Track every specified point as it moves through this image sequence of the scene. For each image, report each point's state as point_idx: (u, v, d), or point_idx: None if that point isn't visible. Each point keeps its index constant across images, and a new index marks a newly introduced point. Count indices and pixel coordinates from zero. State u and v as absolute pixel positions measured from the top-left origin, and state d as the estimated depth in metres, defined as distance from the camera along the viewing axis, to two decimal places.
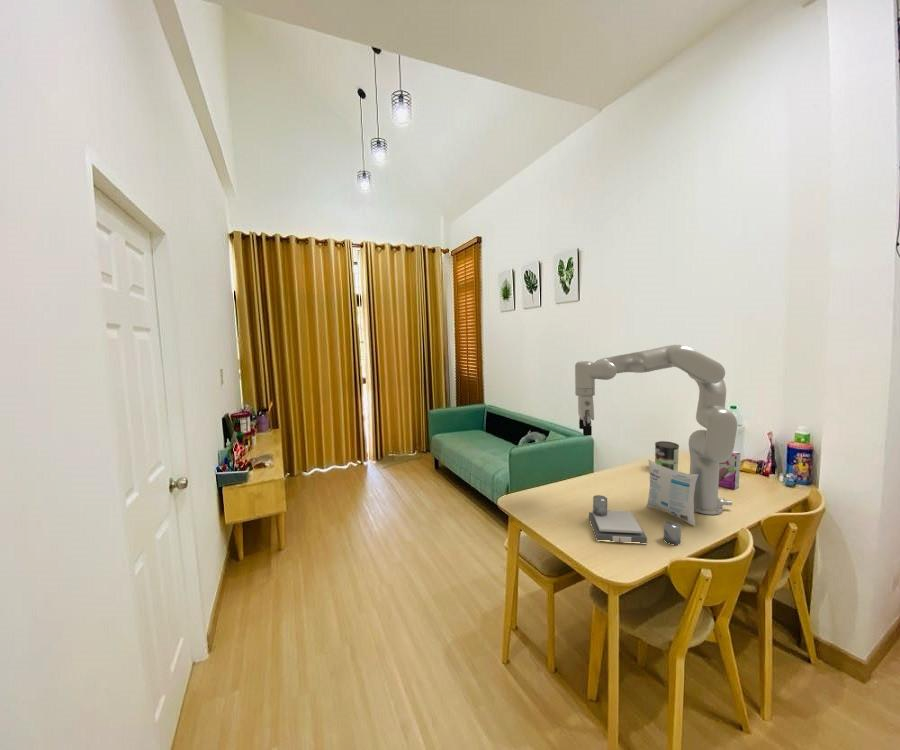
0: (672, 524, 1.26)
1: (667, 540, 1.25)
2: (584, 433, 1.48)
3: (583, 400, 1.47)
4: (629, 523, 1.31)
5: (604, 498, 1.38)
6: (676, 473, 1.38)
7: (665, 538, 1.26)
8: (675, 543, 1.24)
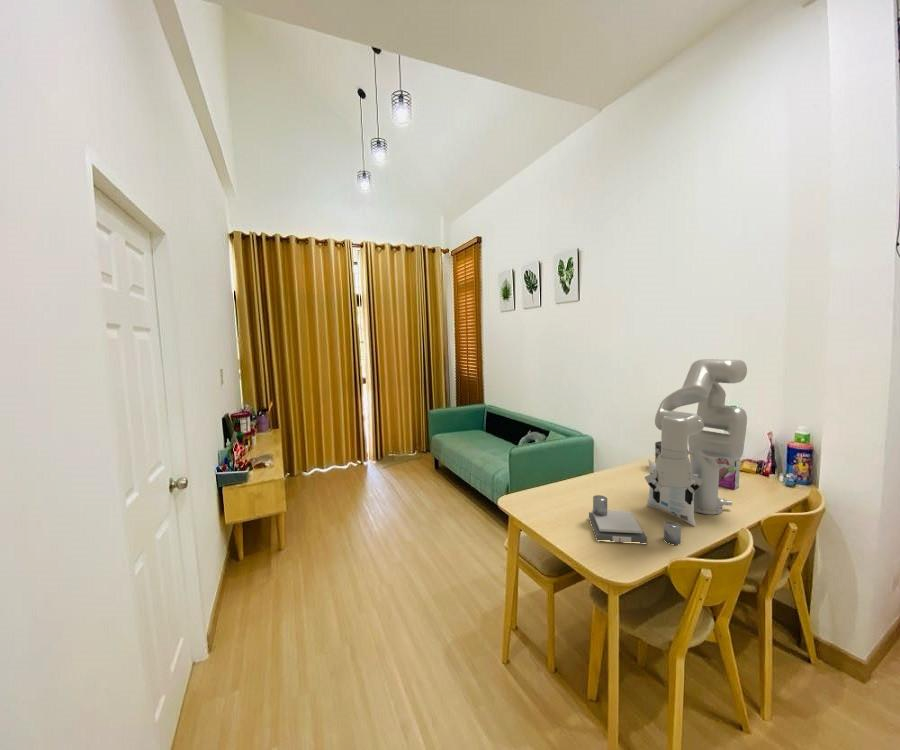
0: (672, 524, 1.26)
1: (667, 540, 1.25)
2: None
3: (690, 463, 1.21)
4: (629, 523, 1.31)
5: (604, 498, 1.38)
6: None
7: (665, 538, 1.26)
8: (675, 543, 1.24)
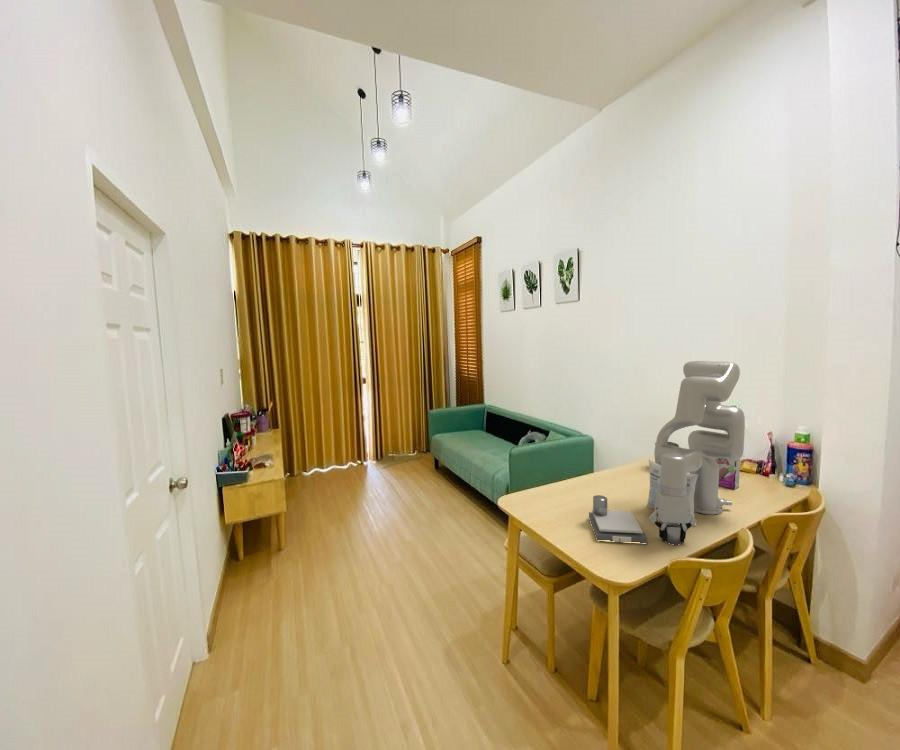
0: (672, 524, 1.26)
1: (667, 540, 1.25)
2: None
3: None
4: (629, 523, 1.31)
5: (604, 498, 1.38)
6: None
7: None
8: (675, 543, 1.24)
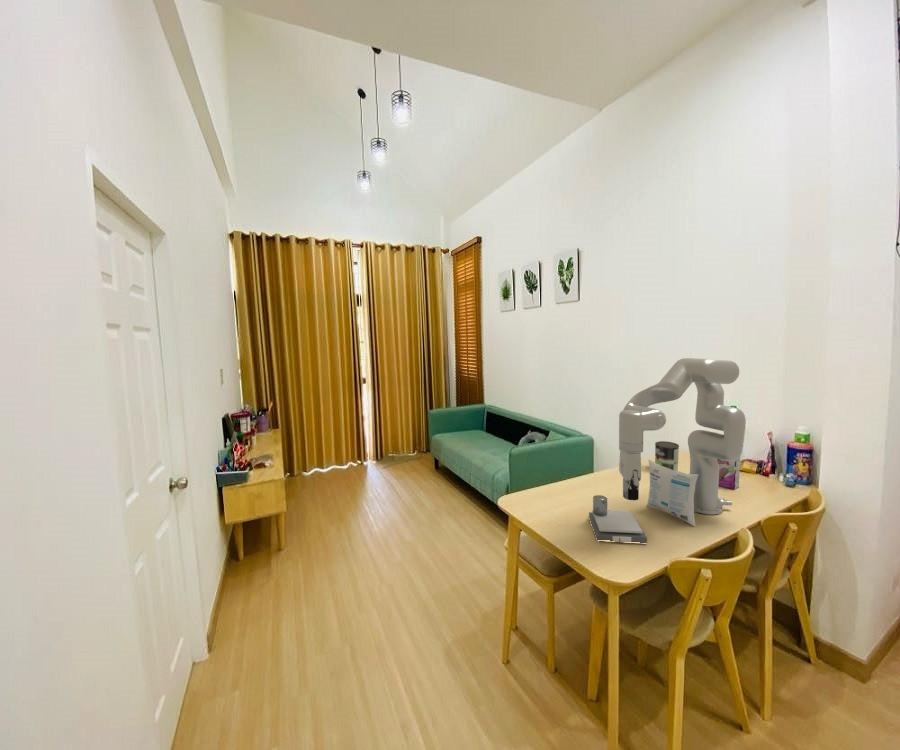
0: None
1: None
2: None
3: None
4: (629, 523, 1.31)
5: (604, 498, 1.38)
6: (676, 473, 1.38)
7: None
8: None
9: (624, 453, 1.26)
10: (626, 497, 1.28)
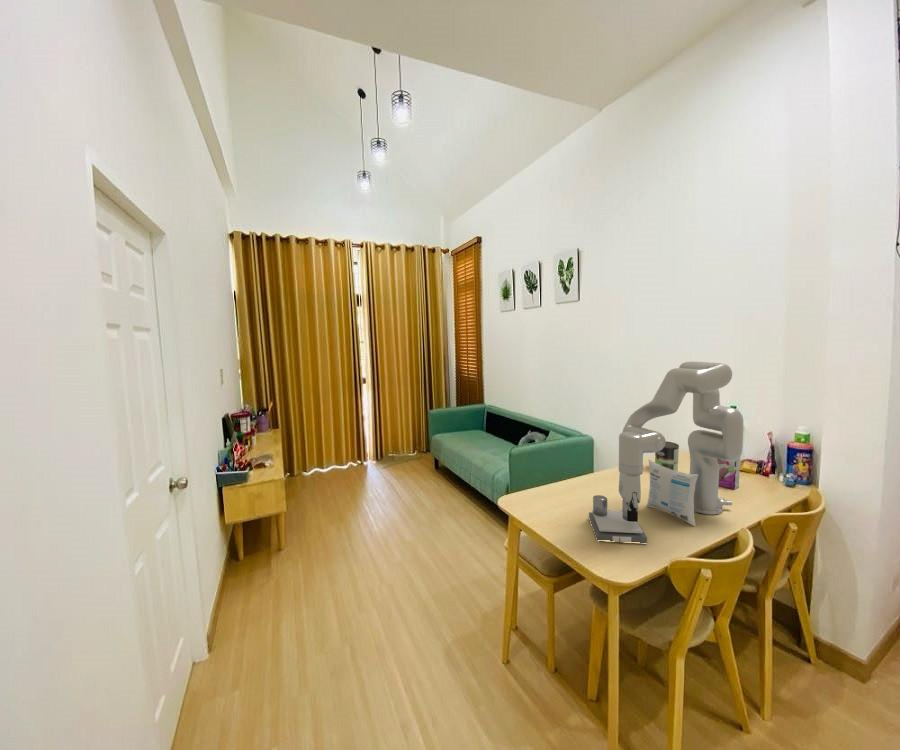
0: None
1: None
2: None
3: None
4: (629, 523, 1.31)
5: (604, 498, 1.38)
6: (676, 473, 1.38)
7: None
8: None
9: (624, 475, 1.27)
10: (625, 518, 1.29)
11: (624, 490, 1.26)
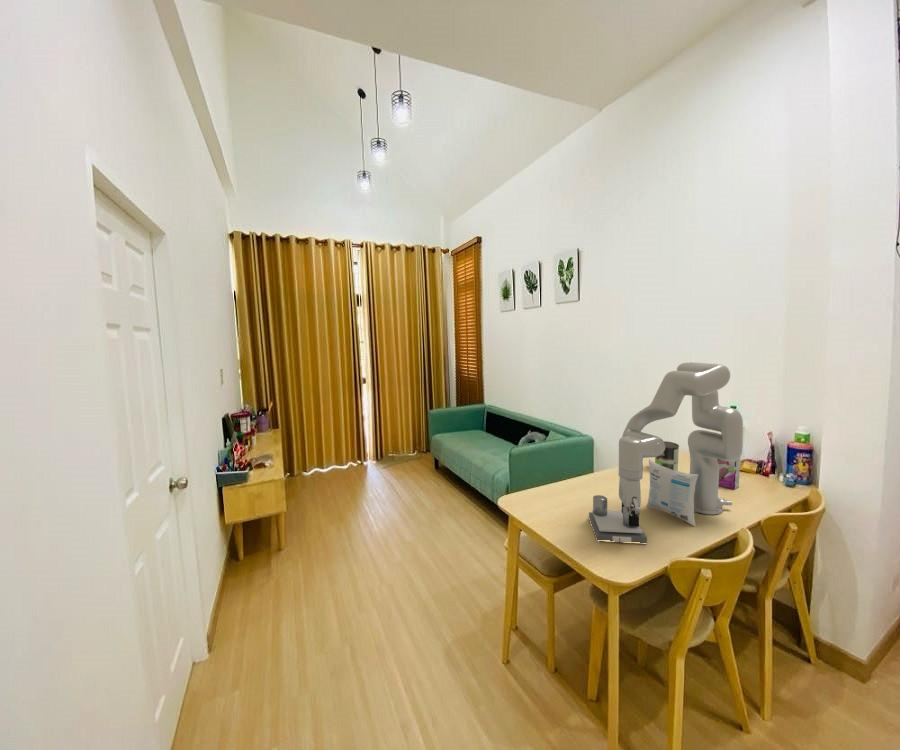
0: None
1: None
2: None
3: None
4: None
5: (604, 498, 1.38)
6: (676, 473, 1.38)
7: None
8: None
9: (624, 480, 1.27)
10: (626, 525, 1.29)
11: (624, 495, 1.26)
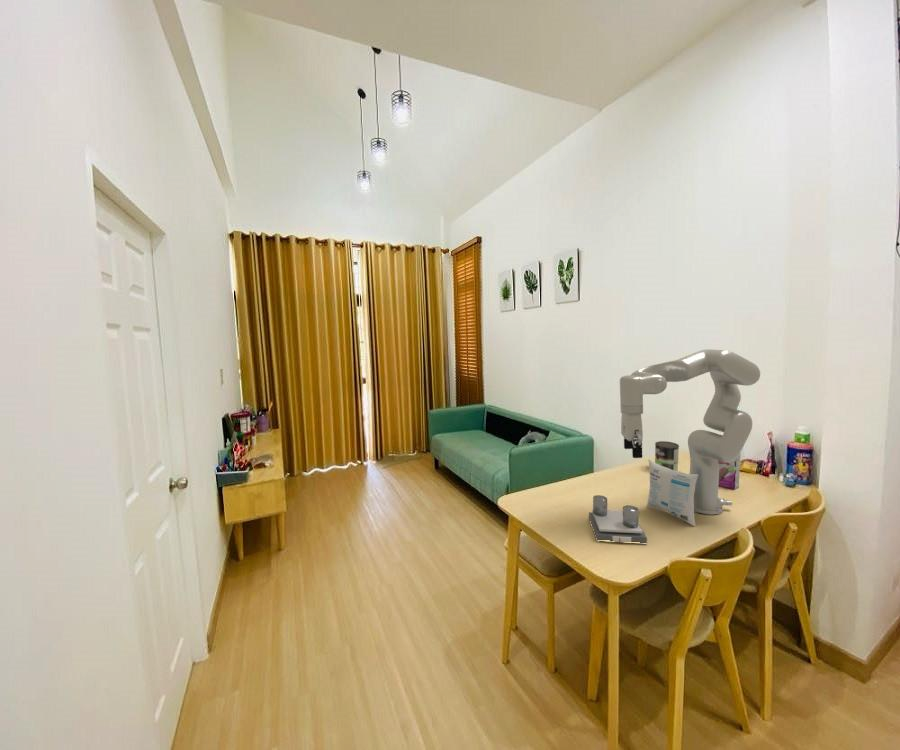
0: (629, 508, 1.30)
1: (636, 524, 1.28)
2: None
3: None
4: None
5: (604, 498, 1.38)
6: (676, 473, 1.38)
7: (634, 524, 1.28)
8: None
9: (626, 416, 1.35)
10: (626, 525, 1.29)
11: (627, 429, 1.34)
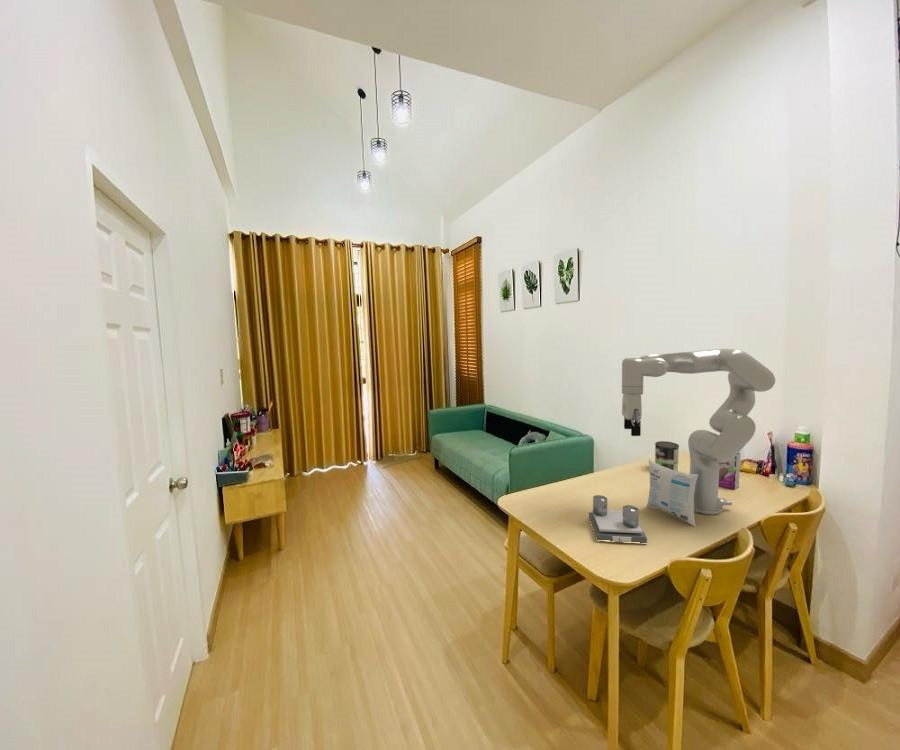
0: (629, 508, 1.30)
1: (636, 524, 1.28)
2: None
3: None
4: None
5: (604, 498, 1.38)
6: (676, 473, 1.38)
7: (634, 524, 1.28)
8: None
9: (626, 396, 1.42)
10: (626, 525, 1.29)
11: (627, 409, 1.42)
